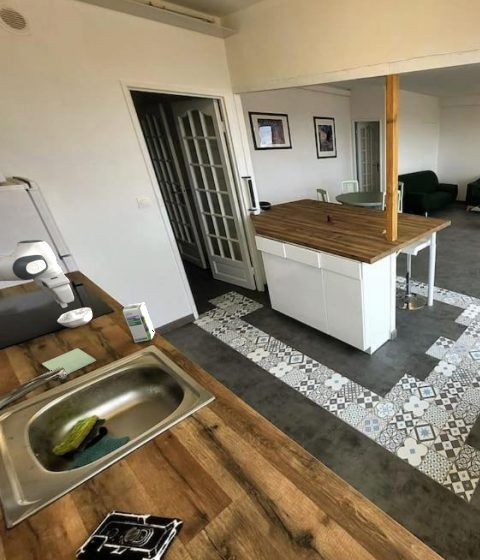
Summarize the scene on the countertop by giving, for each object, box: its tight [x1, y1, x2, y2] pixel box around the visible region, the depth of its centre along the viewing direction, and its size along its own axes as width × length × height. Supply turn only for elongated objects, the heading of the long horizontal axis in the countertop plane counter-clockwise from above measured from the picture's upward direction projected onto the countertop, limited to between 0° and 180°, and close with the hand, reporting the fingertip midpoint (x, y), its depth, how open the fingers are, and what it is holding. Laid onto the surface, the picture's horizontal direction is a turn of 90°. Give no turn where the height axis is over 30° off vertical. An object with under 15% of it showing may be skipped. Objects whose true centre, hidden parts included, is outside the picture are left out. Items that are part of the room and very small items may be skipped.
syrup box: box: [122, 301, 156, 344], centre depth 121 cm, size 6×6×14 cm
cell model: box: [56, 307, 93, 329], centre depth 130 cm, size 10×12×7 cm
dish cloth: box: [41, 347, 97, 379], centre depth 110 cm, size 10×14×1 cm
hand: (63, 306), depth 133 cm, fingers closed
